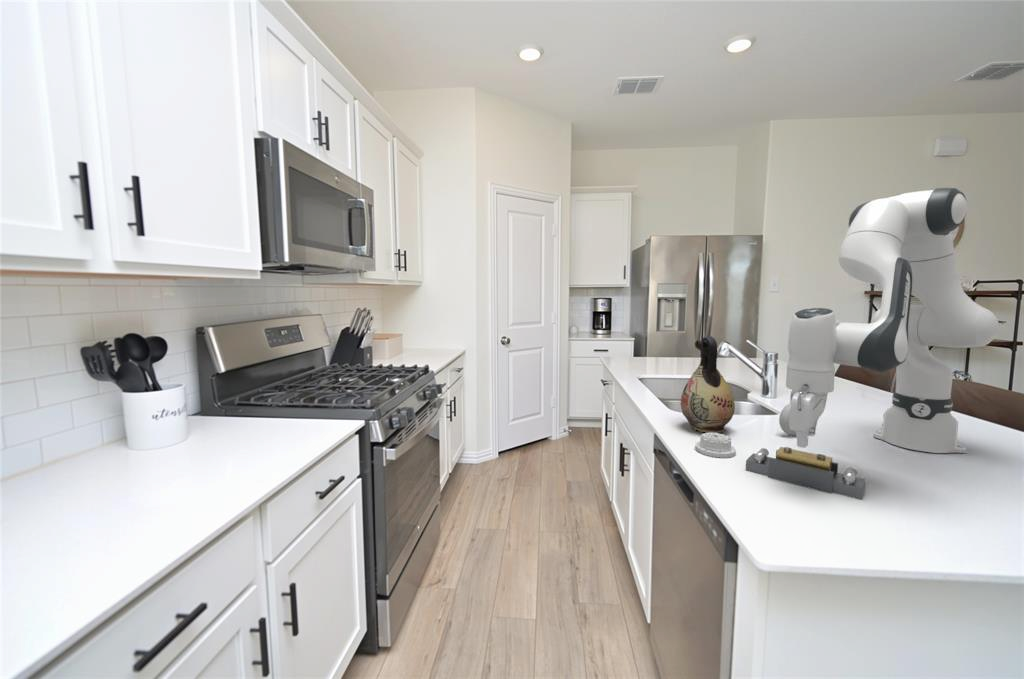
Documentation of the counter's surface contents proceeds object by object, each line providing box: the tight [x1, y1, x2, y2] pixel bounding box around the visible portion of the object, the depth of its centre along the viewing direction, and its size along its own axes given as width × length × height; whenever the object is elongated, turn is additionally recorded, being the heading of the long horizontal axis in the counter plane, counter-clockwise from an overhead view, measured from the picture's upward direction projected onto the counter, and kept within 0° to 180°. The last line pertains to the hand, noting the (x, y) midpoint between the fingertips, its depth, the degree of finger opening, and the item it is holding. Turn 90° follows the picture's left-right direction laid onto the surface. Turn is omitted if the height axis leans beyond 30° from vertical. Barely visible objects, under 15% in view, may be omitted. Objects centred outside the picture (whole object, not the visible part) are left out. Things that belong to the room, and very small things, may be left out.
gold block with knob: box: [775, 446, 833, 471], centre depth 98 cm, size 4×10×4 cm, turn 47°
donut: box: [778, 403, 796, 437], centre depth 128 cm, size 10×4×10 cm, turn 108°
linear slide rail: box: [745, 447, 867, 501], centre depth 98 cm, size 8×22×4 cm, turn 46°
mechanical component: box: [694, 432, 737, 459], centre depth 116 cm, size 10×4×10 cm
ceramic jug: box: [680, 335, 736, 434], centre depth 132 cm, size 17×15×30 cm
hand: (806, 440), depth 97 cm, fingers open, 8 cm apart
